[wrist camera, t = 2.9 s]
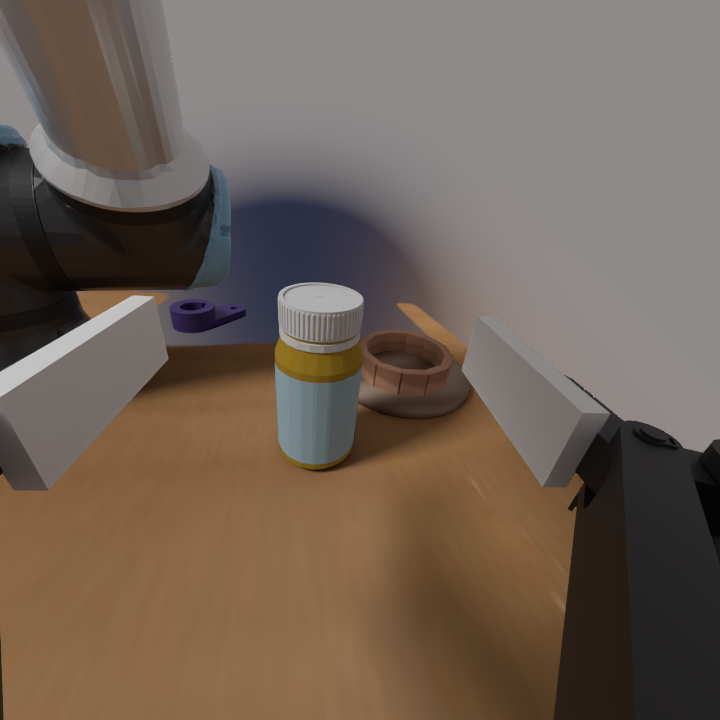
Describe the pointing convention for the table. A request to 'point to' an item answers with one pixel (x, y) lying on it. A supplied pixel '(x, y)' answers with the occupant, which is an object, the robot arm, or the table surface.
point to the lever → (203, 315)
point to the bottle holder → (410, 375)
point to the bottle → (318, 372)
